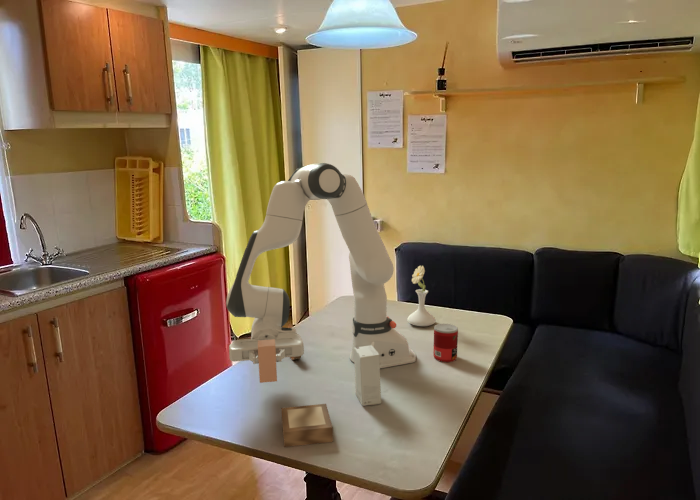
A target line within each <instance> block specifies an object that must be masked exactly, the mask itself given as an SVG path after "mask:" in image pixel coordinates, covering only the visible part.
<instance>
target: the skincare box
mask: <svg viewBox="0 0 700 500" xmlns="http://www.w3.org/2000/svg"><path fill="white" fill-rule="evenodd" d="M353 363H354V382H355V383H354V385H355V386H354V387H355V395H356V397H357V399H358V401H359V403H360V404H361V406H362V407H364V406H375V405H381V404H382V394H381V393H382V391H381V368H380V361H379V354H378V352H377V351H376V350H375V348H374V347H373V346H372V345H370V346H362V347H355V348H354V362H353Z"/></svg>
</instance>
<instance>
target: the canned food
mask: <svg viewBox="0 0 700 500" xmlns="http://www.w3.org/2000/svg"><path fill="white" fill-rule="evenodd" d="M458 335H459V329H458V326H456V325H455V324H451V323H438V324H436V325H434V328H433V357H434V359H435V360H436V361H438V362H441V361H442V363H451V362H455V361H456V360H457V358H458V337H459V336H458Z"/></svg>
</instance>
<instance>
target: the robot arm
mask: <svg viewBox="0 0 700 500" xmlns="http://www.w3.org/2000/svg"><path fill="white" fill-rule="evenodd" d="M270 193H271V194H270V195H269V200H268V204H267V208H266V213H265V214H266V215H265V218H264V221H263V223H262V224H261V226H260V227H259V229H257V230H254V231H253V232H252V233H251V235H250V237H249V239H248V243H247V244H246V248H245V249H244V251H243V252H244V253H243V255H242V256H241V257H242V258H241V260H240V263H239V265H238V269H237V272H236V275H235V279H234V282H233V283H232V285H231V287H230V288H229V291H228V293H227V295H226V301H225V302H226V303H225V304H226V309H227V311H228V312H229V313H230V314H231V315H232V316H233V317H234V318H253V321H252V325H251V331H250V333H251V337H250V338H245V339H236V340H234V341H233V342H232V343H230V344H229V346H228V350H229V351H228V352H229V360H230V361H231V362H245V361H246V362H247V361H251V362H253V365H256V364H257V365H259V359H258V341H259V340H272V339H275V348H276V363H281V362H283V361H282V360H283V359H285V358H290V357H296V356H301V357H302V356H304V354H305V346H304V340H303V338H302V337H301V335H300V334H298V332H297V328H293V327H284V326H285V325H286V324H287V322H288V320H289V316H290V309H291V308H290V307H291V306H290V305H291V304H290V303H291V302H290V297H289V295H288V293H287V291H286V290H285V289H284V288H279V287H272V286H271V287H270V286H262V285H255V284H251V283H250V282H249V280H250V277H251V274H252V272H253V268H254V265H255V263H256V260H257V259H258V257H259V256H260V255H261V254H263V253H265V252H268V251H273V250H276V249H277V250H278V249H282V248H285V247H288V246H290V245H292V244H293V243H295V242H296V241H297V240H298V238H299V237H300V234H301V230H302V225H303V218H304V212H305V208H306V207H307V204H308V203H309V202H310V201H319V200H327V201H328V202H329V205H330V206H331V209H332V212H333V214H334V217H335V220H336V222H337V225H338V227H339V231H340V233H341V236H342V239H343V240H344V242H345V245H346V246H347V248H348V250H349V254H348V260H349V266H350V267H349V268H350V270H349V271H350V276H351V285H352V292H353V318H352V325H351V326H352V328H351V329H352V335H353V339H352V345H351V350H350V354H349V359H350V361H351V362H353V363H354V348H355V347H362V346H370V345H372V346H373V347H374V348H375V350H376V351H377V352H378V354H379V361H380V369H384V368H389V367H395V366H401V365H402V366H403V365H407V364H412V363H415V362H416V359H417V356H416V353H415V351H414V350H413V349H412V348H410V347H409V342H408V340H407V338H406V337H405V336H404V335H403V334H402V333H400V332H399V331H398V330H397V329H396V327H397V323H396V322H395V321H394V320H392V319H391V318H390V317H389V316H388V314H387V312H388V302H387V301H388V296H387V292H386V287H385V284H386V283H387V282H389V281H390V280H391V278H392V277H393V275H394V270H395V269H394V263H393V262H392V261H393V260H391V257H390V255H389V253H388V250H387V249H386V246H385V244H384V242H383V239H382V237H381V235H380V233H379V231H378V229H377V228H376V227H377V226H376V225H375V222H374V219H373V216H372V214H371V211H370V208H369V206H368V205H369V204H368V203H367V200H366V197H365V195H364V192H363V190H362V188H361V186H360V185H359V183H358V182H357V180H356V178H355V177H354V176H353V175H350V174H342V172H341V171H340V170H339V168H337V167H336V166H335V165H334V164H330V163H325V162H322V163H319V162H318V163H317V162H316V163H311V164H308V165H303V166H301V167H298V168H296V170H294V171H293V172H292V174H291V176H290V177H289V179H287V180H281V181H279V182H277V183H276V184H274V186H273V188H272V190H271V192H270Z"/></svg>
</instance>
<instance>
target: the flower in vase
mask: <svg viewBox="0 0 700 500" xmlns="http://www.w3.org/2000/svg"><path fill="white" fill-rule="evenodd" d="M425 272H426V270H425V267H424V265H419V266H417V268H415V269H414V271H413V274H412V275H411V276H412V278H411V282H412V284H414V285H416V284H418V286H419V287H420V288H421V289H420V288H419V289H416V290H415V293H416V294H417V297H418V298H417V299H418V307H417V309H416V310H415V311H413V312H412V313H410V314H409V315H408V317H407V322H408V323H409V324H411V325H413V326H415V327H428V326H432V325H434V324H435V323H436V318H435V317H434V315H433V314H431V313H430V312H429V311H428V310H427V309H426V306H425V303H426V302H425V301H426V296H427V294H428V293H429V290H427V289H426V285H425V281H424V279H423V277H424V275H425ZM421 281H422V282H423V283H422V282H421Z"/></svg>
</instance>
